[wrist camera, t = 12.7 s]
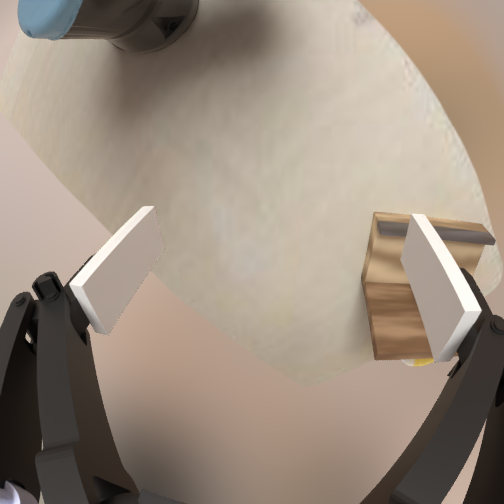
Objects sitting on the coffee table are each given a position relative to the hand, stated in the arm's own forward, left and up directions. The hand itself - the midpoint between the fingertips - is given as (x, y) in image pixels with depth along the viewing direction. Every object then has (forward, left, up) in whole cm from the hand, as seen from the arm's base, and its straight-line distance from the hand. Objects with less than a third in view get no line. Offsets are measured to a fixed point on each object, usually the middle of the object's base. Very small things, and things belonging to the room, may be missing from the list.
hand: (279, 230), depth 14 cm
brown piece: (+18, +23, -28) cm, 41 cm away
